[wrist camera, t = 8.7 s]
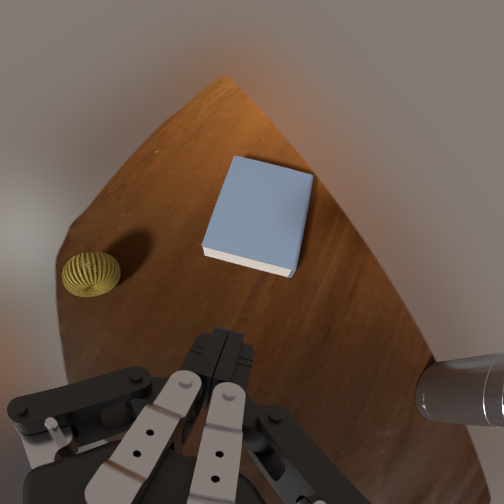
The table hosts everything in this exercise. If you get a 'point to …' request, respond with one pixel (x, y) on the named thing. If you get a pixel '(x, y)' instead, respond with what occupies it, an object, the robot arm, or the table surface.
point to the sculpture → (91, 274)
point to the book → (260, 217)
